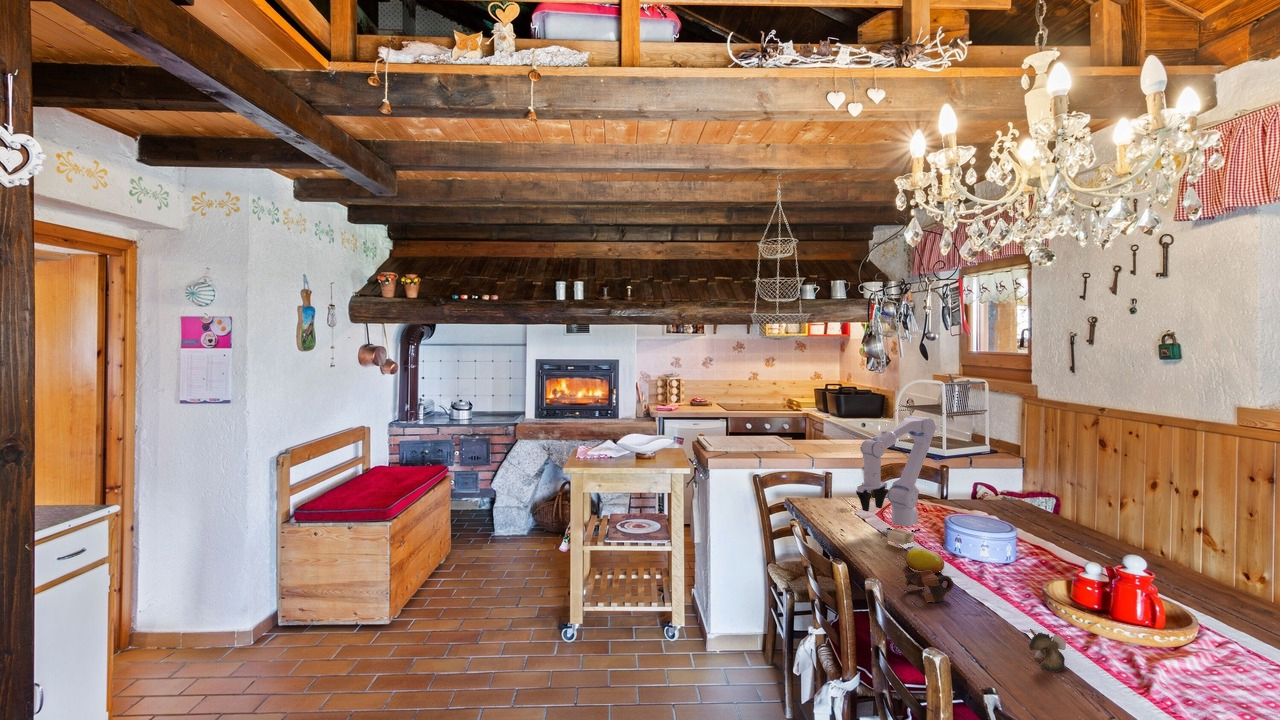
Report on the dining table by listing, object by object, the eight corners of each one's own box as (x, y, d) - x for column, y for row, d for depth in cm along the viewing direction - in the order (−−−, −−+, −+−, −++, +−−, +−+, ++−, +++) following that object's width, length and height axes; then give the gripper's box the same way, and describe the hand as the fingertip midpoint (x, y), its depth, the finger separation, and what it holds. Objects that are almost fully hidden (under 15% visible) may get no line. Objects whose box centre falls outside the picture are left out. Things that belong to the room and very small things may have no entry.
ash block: (898, 542, 206) (898, 528, 206) (913, 547, 201) (913, 532, 201) (887, 544, 203) (887, 530, 203) (902, 549, 198) (902, 535, 198)
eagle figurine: (1018, 641, 132) (1019, 651, 124) (1038, 618, 131) (1040, 626, 123) (1052, 669, 128) (1055, 680, 120) (1074, 645, 127) (1078, 655, 119)
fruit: (954, 575, 173) (946, 550, 173) (920, 585, 174) (912, 560, 173) (935, 561, 185) (928, 537, 184) (903, 570, 185) (896, 547, 185)
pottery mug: (916, 606, 154) (904, 574, 158) (910, 608, 163) (899, 577, 166) (963, 597, 153) (950, 564, 157) (954, 599, 161) (942, 569, 165)
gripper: (875, 468, 221) (875, 504, 221) (850, 472, 213) (850, 509, 213) (892, 471, 215) (891, 508, 215) (866, 476, 207) (866, 514, 207)
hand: (872, 509), depth 214 cm, fingers open, 7 cm apart
